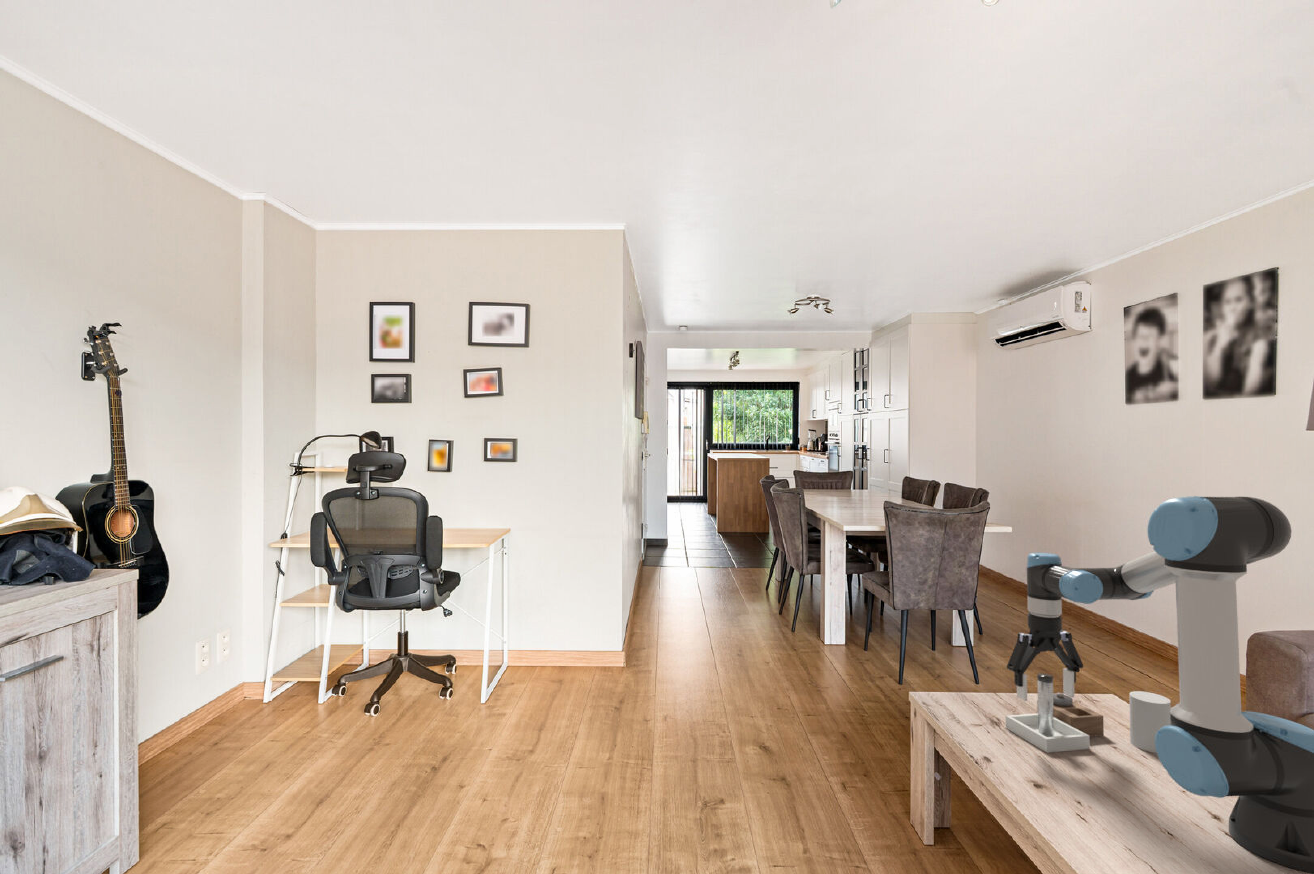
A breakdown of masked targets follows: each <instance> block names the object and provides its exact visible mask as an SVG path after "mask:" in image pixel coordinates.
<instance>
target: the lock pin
mask: <svg viewBox="0 0 1314 874" xmlns="http://www.w3.org/2000/svg"><path fill="white" fill-rule="evenodd" d="M1053 693H1054V676H1053V675H1051V674H1048V673H1037V700H1038V732H1039V733H1041V734H1042V735H1044V736H1046V737H1054V718H1053Z"/></svg>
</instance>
